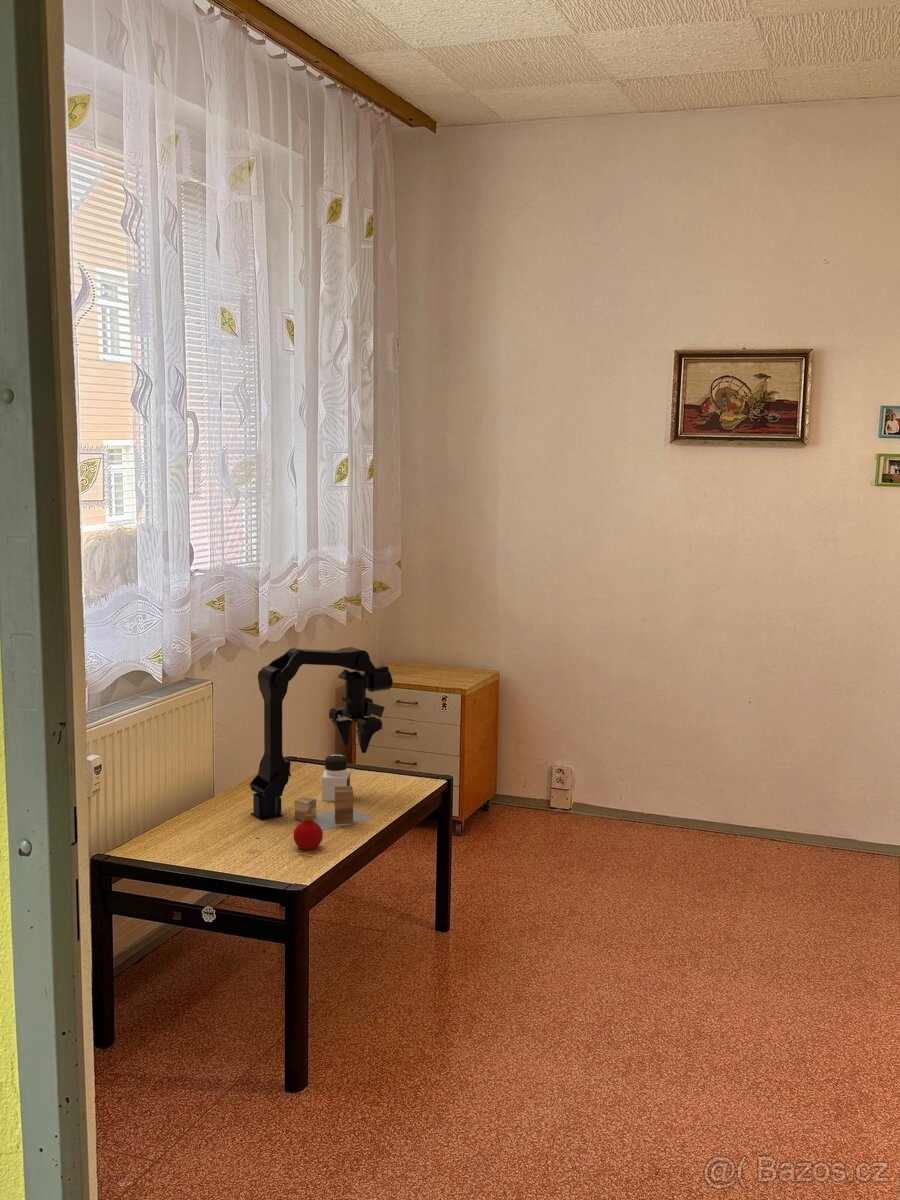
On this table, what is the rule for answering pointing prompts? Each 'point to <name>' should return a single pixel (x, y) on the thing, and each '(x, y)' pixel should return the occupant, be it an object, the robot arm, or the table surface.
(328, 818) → the mat
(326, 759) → the medicine bottle
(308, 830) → the christmas ornament
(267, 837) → the table surface
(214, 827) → the table surface
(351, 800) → the walnut block
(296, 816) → the maple block
